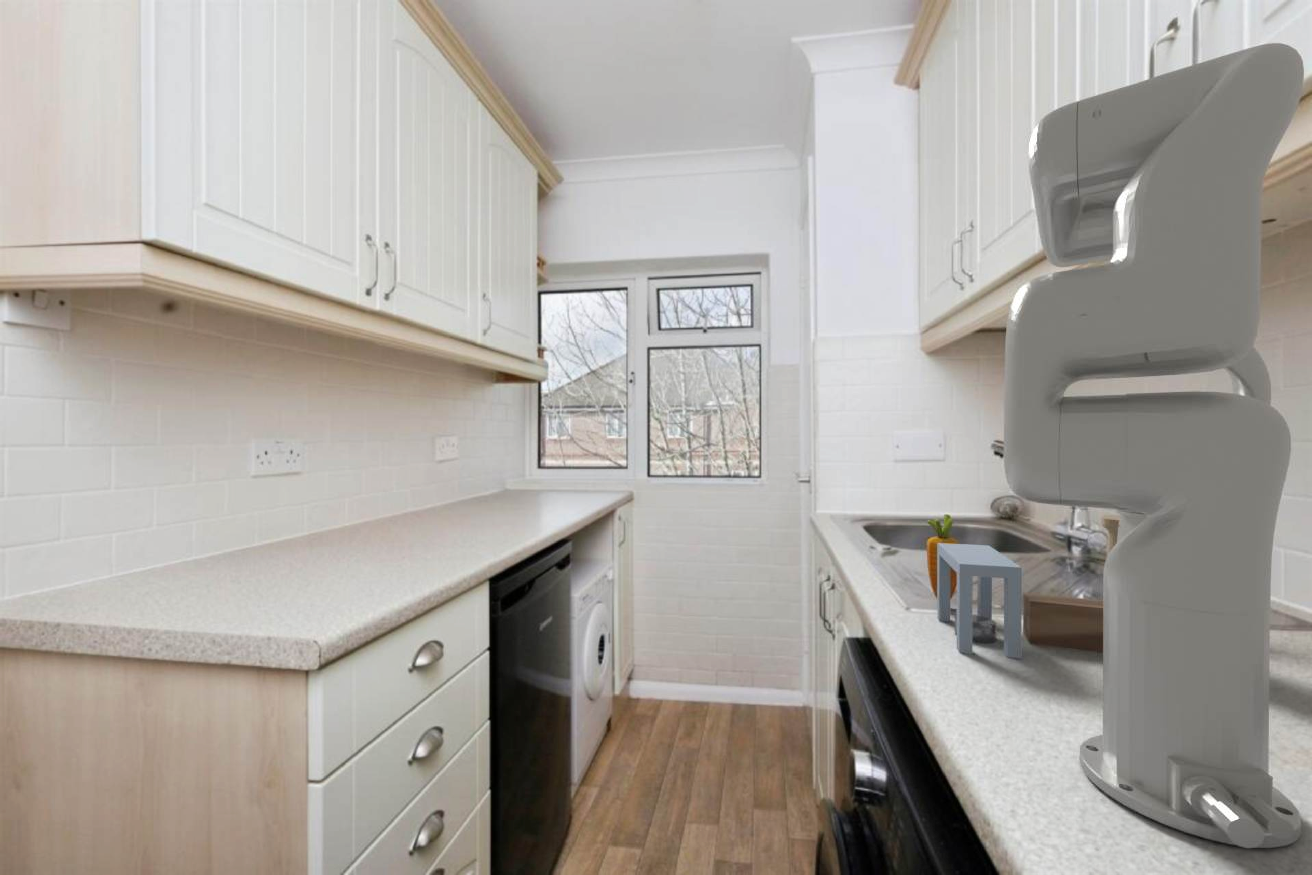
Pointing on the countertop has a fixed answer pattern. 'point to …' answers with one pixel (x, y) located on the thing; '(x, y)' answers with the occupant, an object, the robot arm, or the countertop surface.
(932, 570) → the carrot
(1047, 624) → the brown block
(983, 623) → the grey metal short cylinder
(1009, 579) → the low shelf
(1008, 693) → the countertop surface
